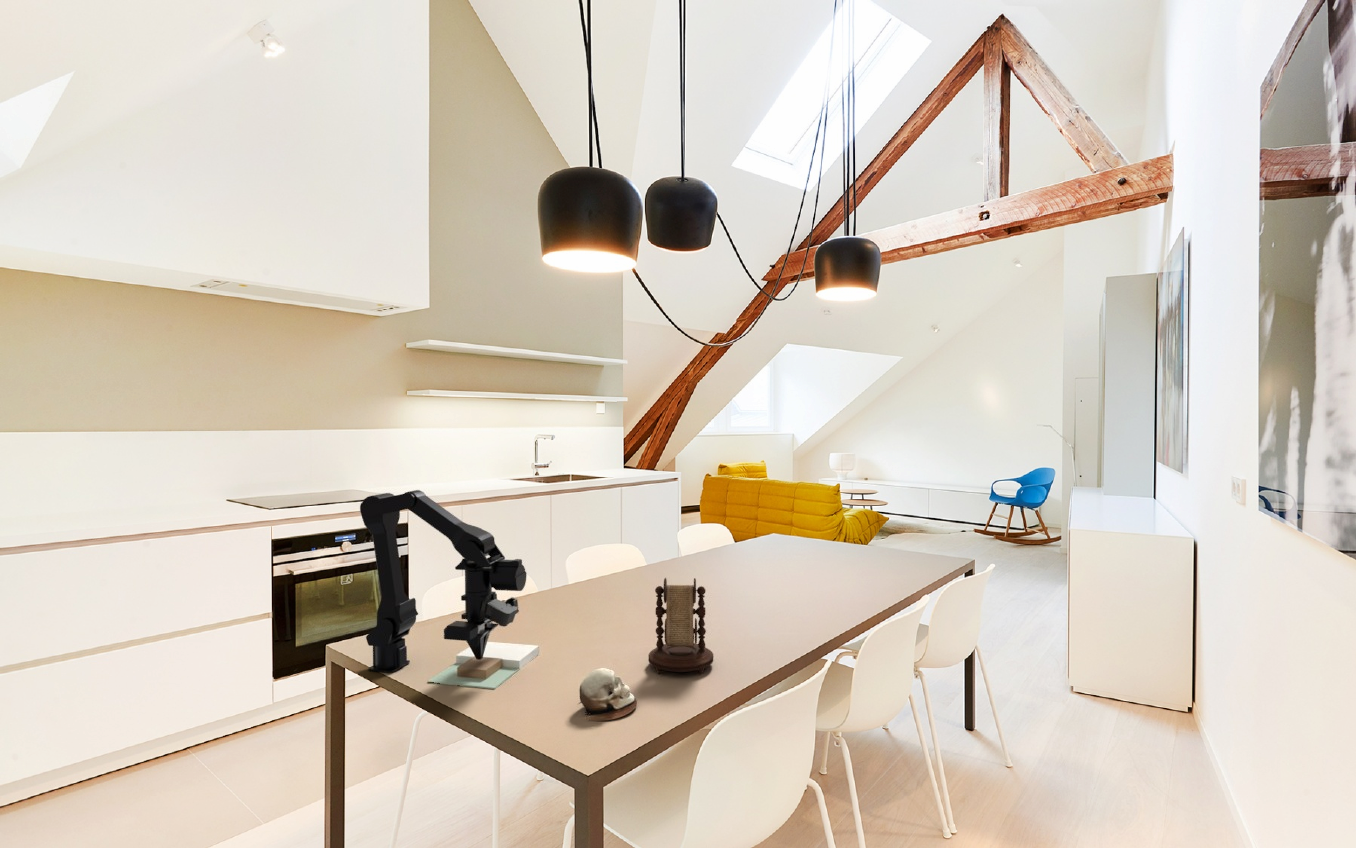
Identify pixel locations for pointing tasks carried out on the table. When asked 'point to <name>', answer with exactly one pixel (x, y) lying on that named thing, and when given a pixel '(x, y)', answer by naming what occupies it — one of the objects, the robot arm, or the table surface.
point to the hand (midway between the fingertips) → (479, 659)
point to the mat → (491, 683)
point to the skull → (605, 696)
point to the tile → (479, 667)
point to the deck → (504, 654)
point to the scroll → (680, 630)
